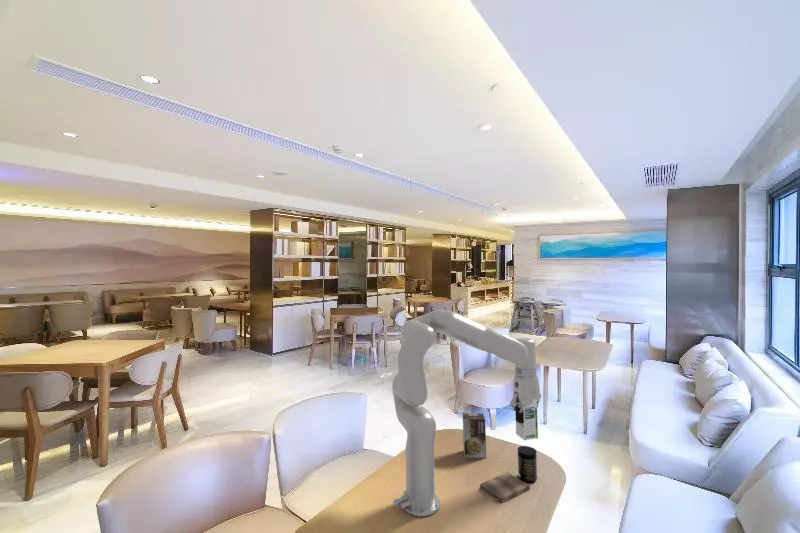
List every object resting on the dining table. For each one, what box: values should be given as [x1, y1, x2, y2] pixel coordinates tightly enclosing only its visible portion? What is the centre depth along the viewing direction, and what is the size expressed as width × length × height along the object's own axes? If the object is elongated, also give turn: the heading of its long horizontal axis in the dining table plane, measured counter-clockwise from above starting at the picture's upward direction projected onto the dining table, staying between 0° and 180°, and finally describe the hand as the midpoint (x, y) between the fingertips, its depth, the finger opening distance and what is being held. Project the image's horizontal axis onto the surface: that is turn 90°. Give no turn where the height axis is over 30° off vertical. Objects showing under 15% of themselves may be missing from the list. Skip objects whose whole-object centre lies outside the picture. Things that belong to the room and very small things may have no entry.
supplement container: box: [517, 445, 538, 484], centre depth 134 cm, size 7×7×10 cm
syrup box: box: [515, 399, 539, 441], centre depth 135 cm, size 6×6×14 cm
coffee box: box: [462, 412, 487, 459], centre depth 153 cm, size 9×6×16 cm
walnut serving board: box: [479, 472, 531, 504], centre depth 128 cm, size 14×10×2 cm
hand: (526, 419), depth 134 cm, fingers closed on syrup box, 6 cm apart
